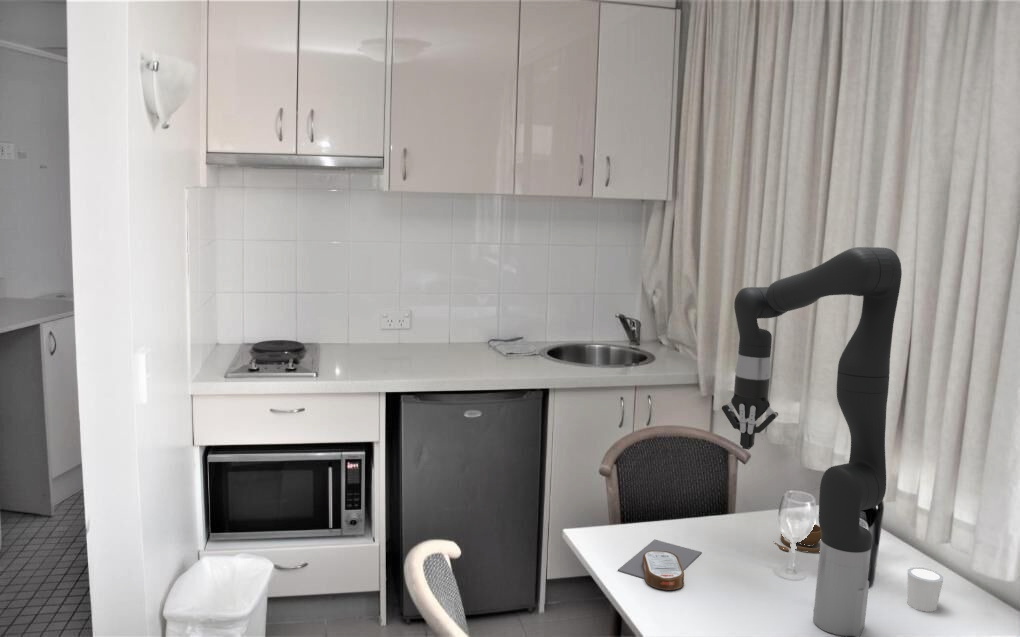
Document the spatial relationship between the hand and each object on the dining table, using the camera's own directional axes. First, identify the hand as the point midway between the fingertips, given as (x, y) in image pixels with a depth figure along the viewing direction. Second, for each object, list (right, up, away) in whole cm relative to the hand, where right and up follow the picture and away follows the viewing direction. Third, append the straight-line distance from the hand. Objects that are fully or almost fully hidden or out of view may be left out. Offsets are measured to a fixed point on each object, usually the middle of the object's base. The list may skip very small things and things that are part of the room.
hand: (746, 448), depth 191 cm
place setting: (+20, -27, +11) cm, 36 cm away
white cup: (+33, -31, -15) cm, 48 cm away
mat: (-19, -26, +1) cm, 33 cm away
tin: (-16, -26, -6) cm, 31 cm away
